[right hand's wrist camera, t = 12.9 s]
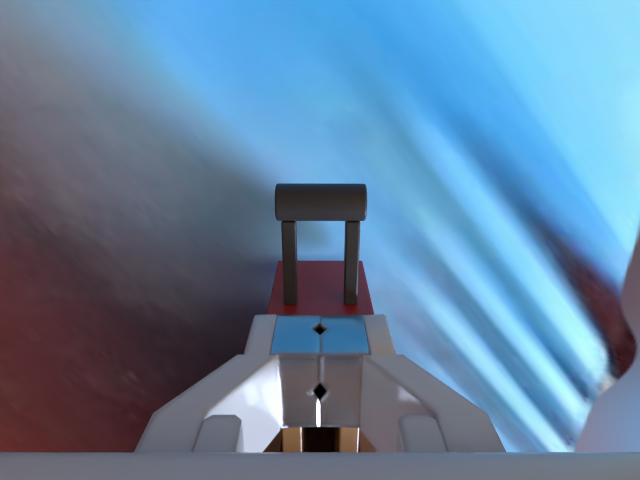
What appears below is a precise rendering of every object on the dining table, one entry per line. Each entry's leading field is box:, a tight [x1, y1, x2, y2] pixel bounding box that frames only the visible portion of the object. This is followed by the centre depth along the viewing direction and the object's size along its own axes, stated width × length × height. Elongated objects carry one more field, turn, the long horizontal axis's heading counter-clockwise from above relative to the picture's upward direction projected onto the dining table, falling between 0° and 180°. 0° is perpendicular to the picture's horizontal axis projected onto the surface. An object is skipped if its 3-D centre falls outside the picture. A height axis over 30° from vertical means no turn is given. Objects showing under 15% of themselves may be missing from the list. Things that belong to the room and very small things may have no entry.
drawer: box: [267, 184, 374, 452], centre depth 22 cm, size 22×5×9 cm, turn 0°
